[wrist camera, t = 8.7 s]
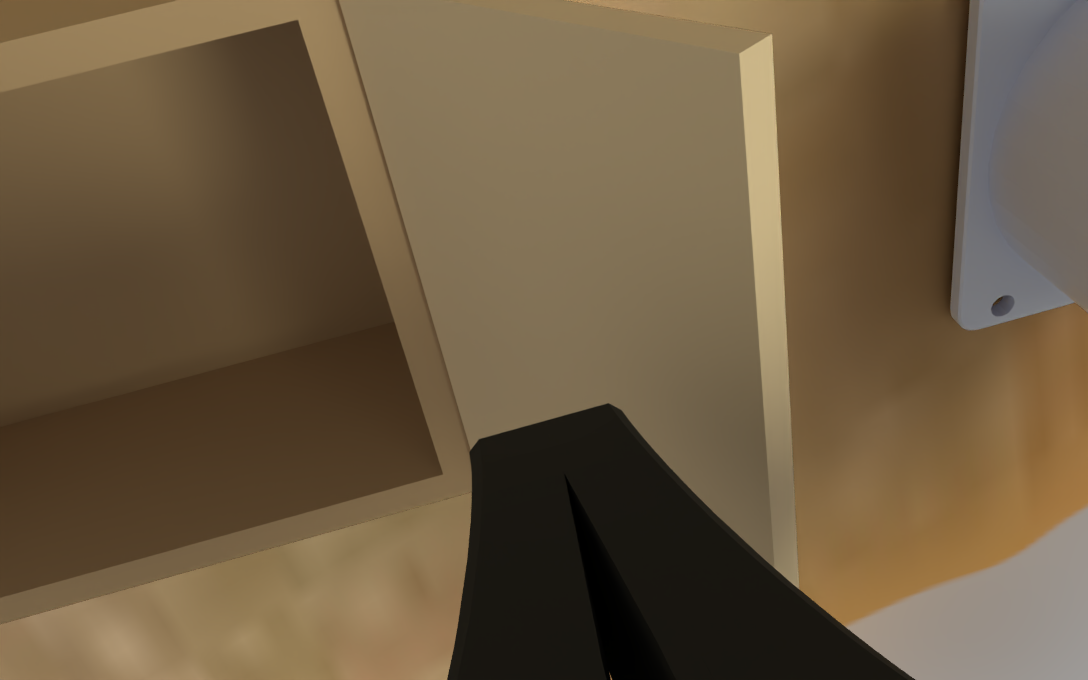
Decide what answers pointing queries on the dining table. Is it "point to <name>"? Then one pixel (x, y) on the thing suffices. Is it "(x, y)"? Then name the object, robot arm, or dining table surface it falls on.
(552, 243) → the flap
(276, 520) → the carton
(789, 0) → the dining table surface
